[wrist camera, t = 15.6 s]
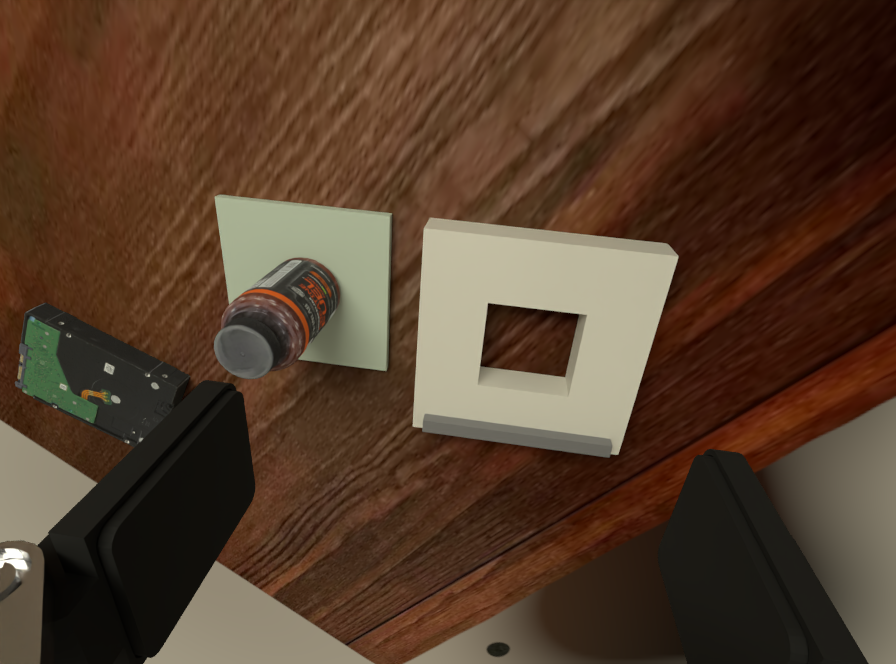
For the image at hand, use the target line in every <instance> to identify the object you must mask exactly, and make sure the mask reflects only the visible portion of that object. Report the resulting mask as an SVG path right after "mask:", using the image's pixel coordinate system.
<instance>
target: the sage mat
mask: <svg viewBox="0 0 896 664" xmlns="http://www.w3.org/2000/svg"><path fill="white" fill-rule="evenodd" d="M215 203H216V210H217V218H218V225H219V232H220V240H221V247H222V254H223V262H224V269H225V276H226V283H227V291H228V298H229V305H230V303H232V302H233V301H234V300H235V299H236V298H237V297H239V296H240V295H241V294H242V293H244V292H245V291H246V290H247V289H249V288H250V287H251V286H253V285H254V284H255V283H257V282H258V281H259V280H260V279H262V278H263V277H264V276H265V275H267V274H268V273H269V272H271V271H272V270H273V269H275V268H276V267H277V266H278V265H280V264H281V263H283V262H284V261H286V260H288V259H292V258H298V257H302V258H309V259H313V260H316V261H317V262H319V263H321V264H322V265H324V266H325V267H326V268H327V269H328V270H329V271H330V272H331V273H332V274H333V276H334V277H335V278H336V281H337V283H338V286H339V291H340V302H339V305H338V308H337V310H336V311H335V313H334V315H333V316H332V317H331V319H330V320H329V321H328V322H327V324H326V325H325V326H324V328H323V329H322V330H321V331H320V332H319V334H318V335H317V336H316V337H315V339H314V340H313V341H312V343H311V344H310V345H309V346H308V348H307V349H306V350H305V351H304V353H303V354H302V355H301V356H300V357H299V360H306V361H314V362H322V363H329V364H337V365H344V366H352V367H359V368H367V369H375V370H382V371H386V370H387V368H388V353H389V315H390V277H391V239H392V213H383V212H374V211H365V210H355V209H346V208H337V207H328V206H319V205H310V204H301V203H291V202H282V201H273V200H264V199H255V198H246V197H237V196H227V195H218V196H216V197H215Z"/></svg>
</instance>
